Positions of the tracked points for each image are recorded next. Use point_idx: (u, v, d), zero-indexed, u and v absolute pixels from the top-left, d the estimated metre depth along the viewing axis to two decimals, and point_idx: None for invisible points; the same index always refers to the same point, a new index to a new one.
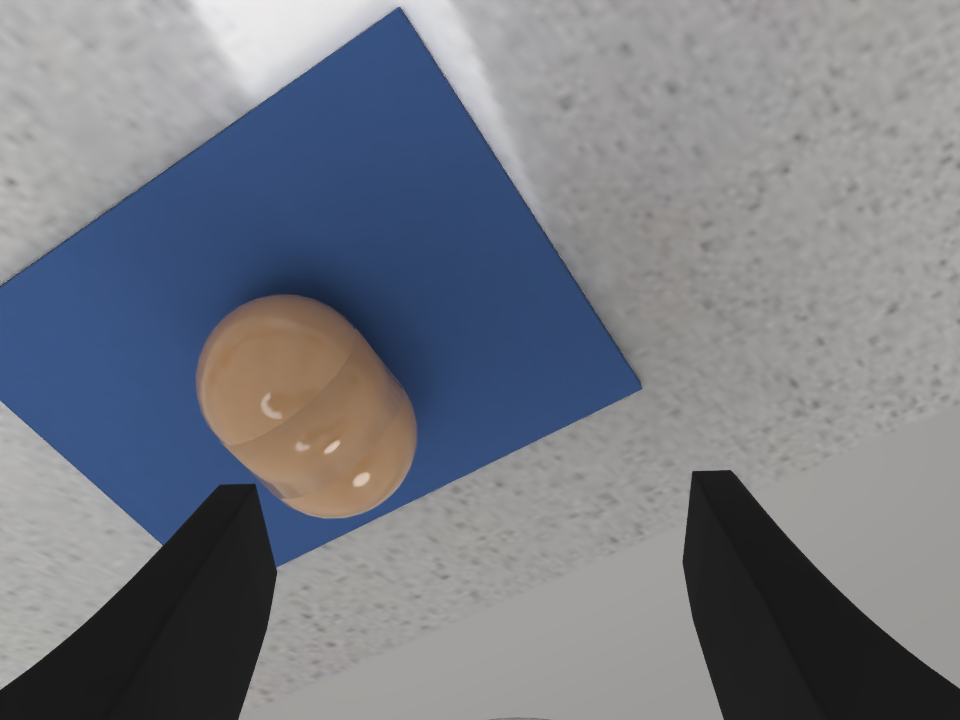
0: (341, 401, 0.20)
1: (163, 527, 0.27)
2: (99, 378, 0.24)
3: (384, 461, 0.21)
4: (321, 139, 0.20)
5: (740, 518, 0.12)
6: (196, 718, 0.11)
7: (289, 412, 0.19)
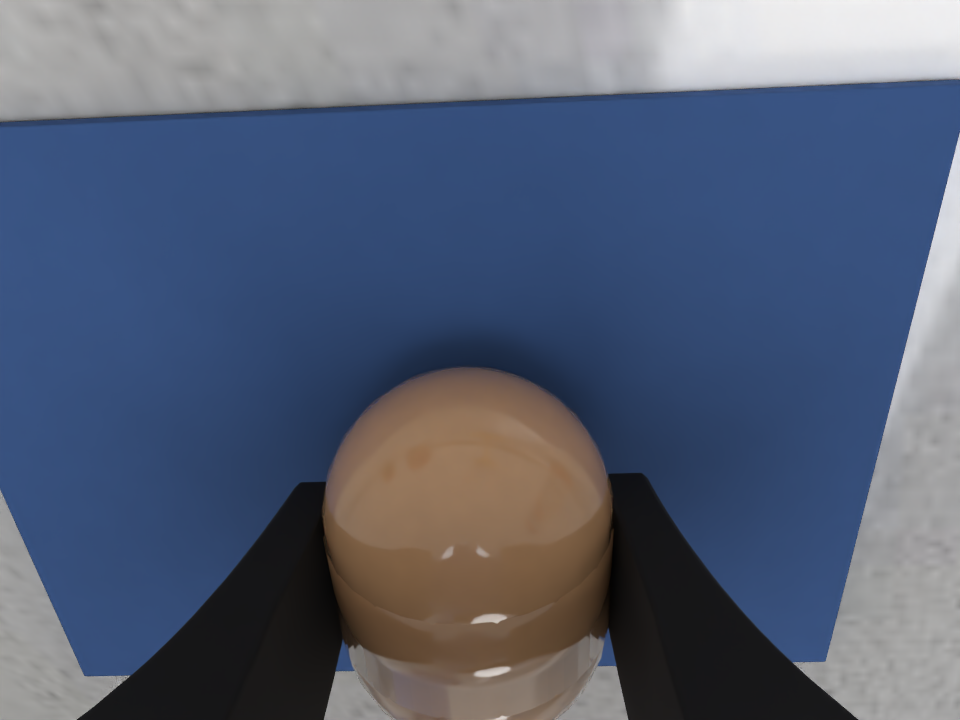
0: (582, 609, 0.12)
1: (63, 567, 0.17)
2: (114, 337, 0.14)
3: (570, 702, 0.13)
4: (720, 192, 0.12)
5: (641, 521, 0.12)
6: (293, 716, 0.11)
7: (518, 609, 0.11)
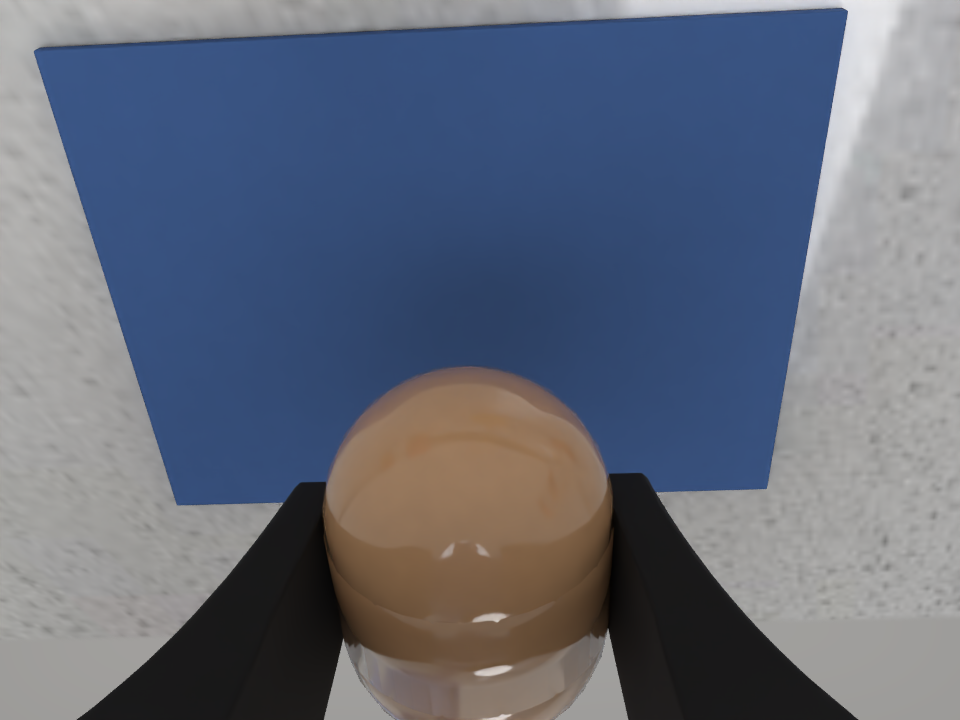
0: (583, 607, 0.12)
1: (168, 406, 0.21)
2: (221, 209, 0.19)
3: (570, 700, 0.13)
4: (670, 93, 0.17)
5: (641, 520, 0.12)
6: (293, 716, 0.11)
7: (519, 608, 0.11)
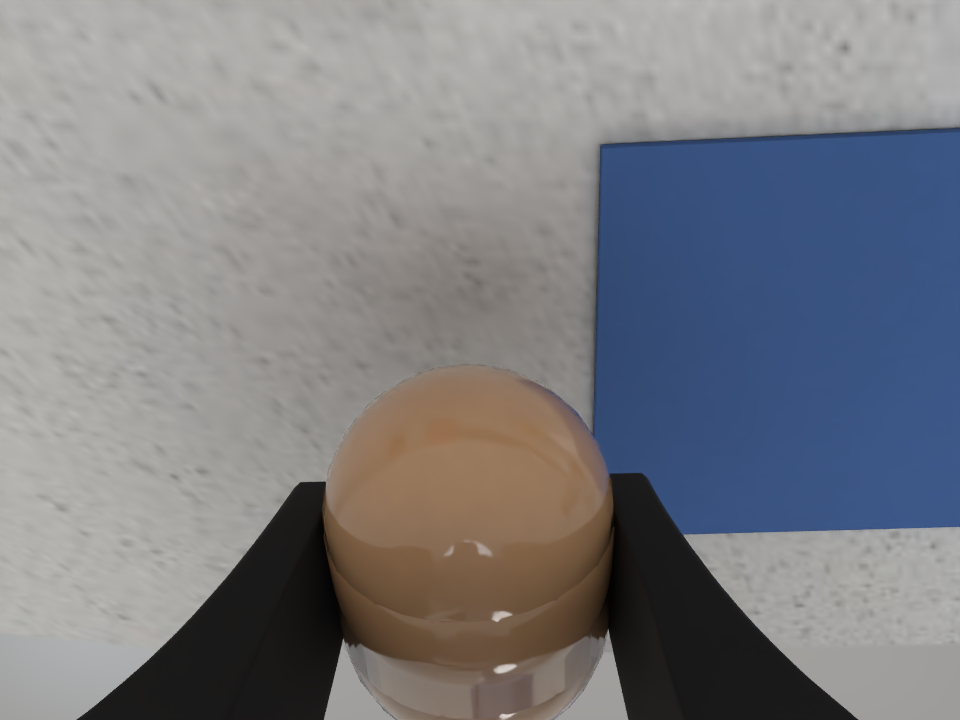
0: (583, 607, 0.12)
1: (614, 450, 0.24)
2: (722, 281, 0.21)
3: (570, 700, 0.13)
4: None
5: (641, 520, 0.12)
6: (293, 716, 0.11)
7: (519, 607, 0.11)
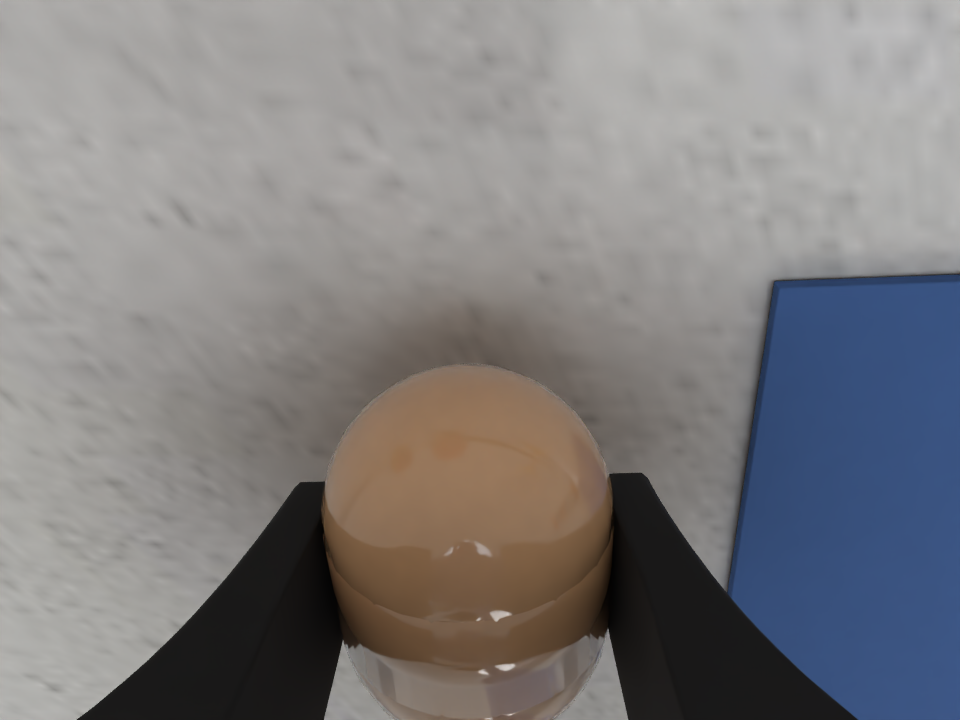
0: (582, 606, 0.12)
1: None
2: (916, 447, 0.16)
3: (570, 700, 0.13)
4: None
5: (641, 520, 0.12)
6: (293, 716, 0.11)
7: (518, 607, 0.11)
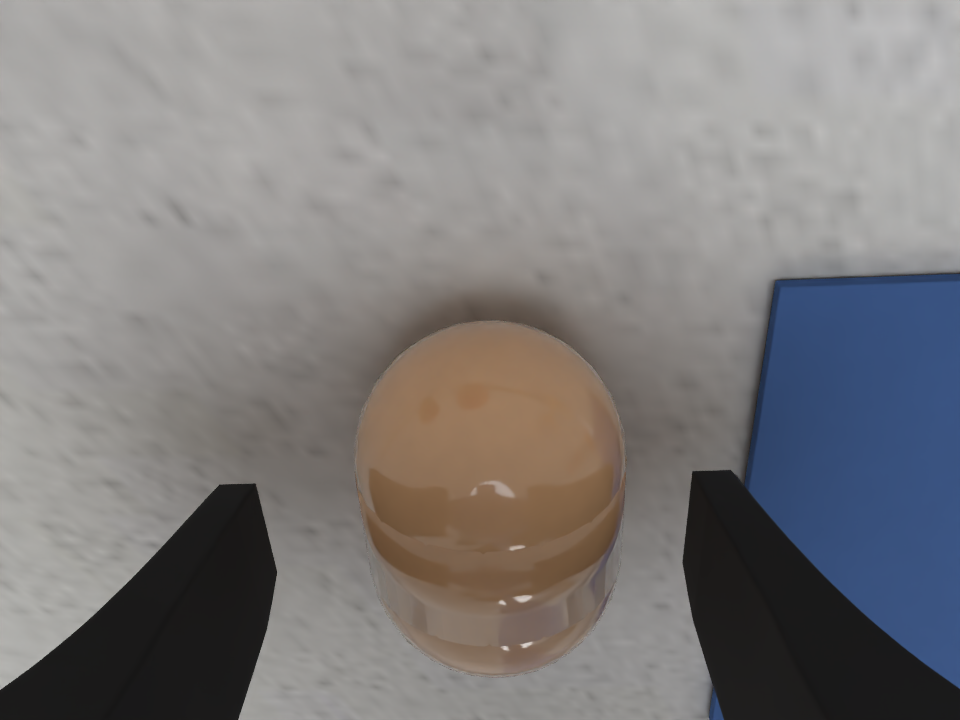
0: (610, 529, 0.13)
1: None
2: (917, 447, 0.16)
3: (597, 621, 0.14)
4: None
5: (740, 518, 0.12)
6: (196, 718, 0.11)
7: (561, 530, 0.12)
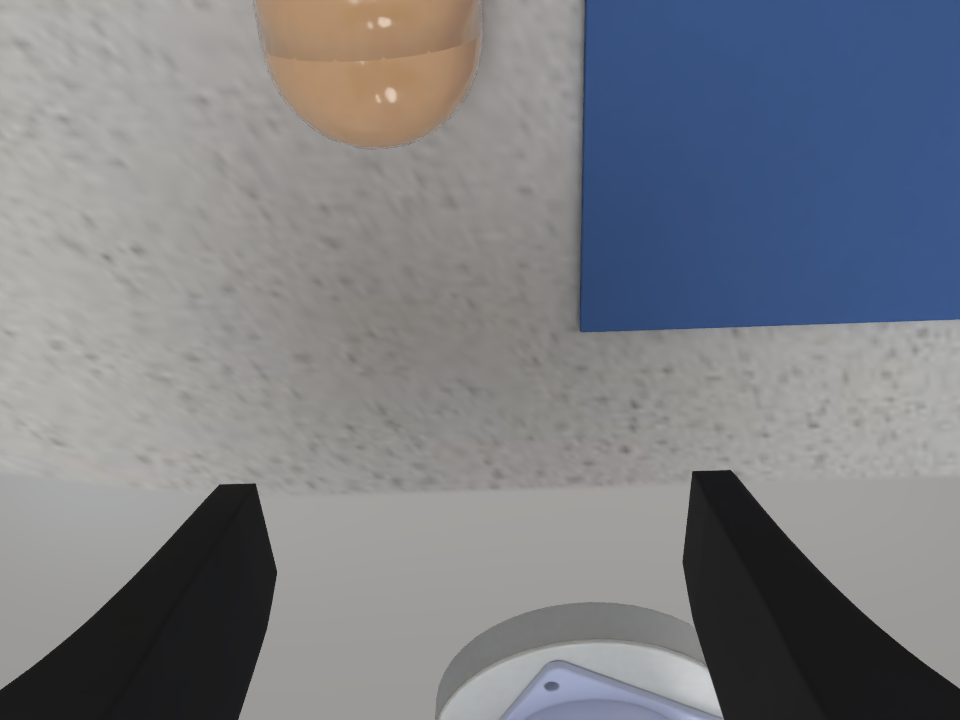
0: None
1: (606, 215, 0.21)
2: None
3: (470, 68, 0.16)
4: None
5: (740, 518, 0.12)
6: (196, 718, 0.11)
7: None
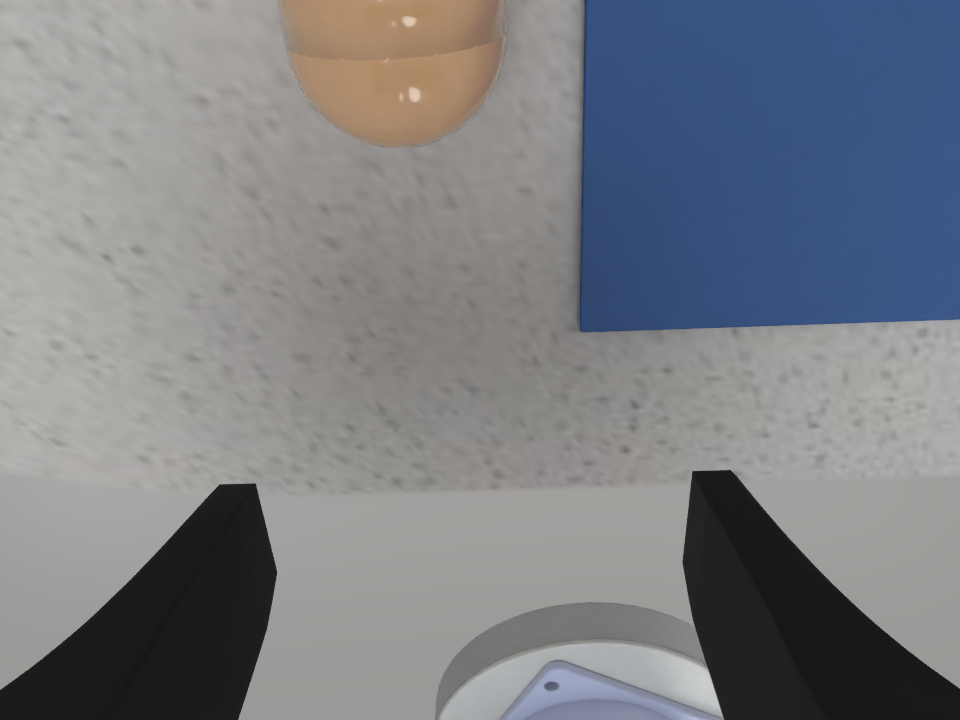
0: None
1: (606, 215, 0.21)
2: None
3: (501, 61, 0.17)
4: None
5: (740, 518, 0.12)
6: (196, 718, 0.11)
7: None
